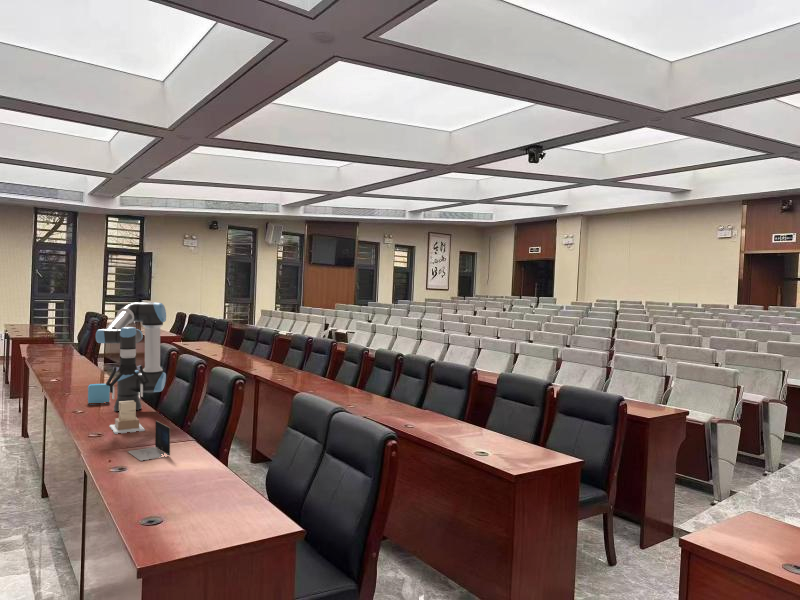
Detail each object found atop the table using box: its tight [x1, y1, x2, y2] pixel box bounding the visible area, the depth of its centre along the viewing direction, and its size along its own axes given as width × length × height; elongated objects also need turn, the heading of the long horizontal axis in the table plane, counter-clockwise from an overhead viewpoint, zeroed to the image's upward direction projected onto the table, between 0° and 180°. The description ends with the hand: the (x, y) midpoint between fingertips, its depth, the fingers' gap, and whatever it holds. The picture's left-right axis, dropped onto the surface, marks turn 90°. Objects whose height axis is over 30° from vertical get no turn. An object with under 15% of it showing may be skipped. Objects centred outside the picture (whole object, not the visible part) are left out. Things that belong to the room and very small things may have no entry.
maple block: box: [118, 400, 137, 421], centre depth 308 cm, size 7×7×9 cm
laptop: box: [127, 420, 171, 462], centre depth 262 cm, size 18×12×13 cm
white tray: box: [109, 416, 146, 435], centre depth 308 cm, size 18×14×5 cm
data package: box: [87, 383, 111, 404], centre depth 372 cm, size 12×4×12 cm, turn 119°
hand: (127, 397), depth 308 cm, fingers open, 13 cm apart
